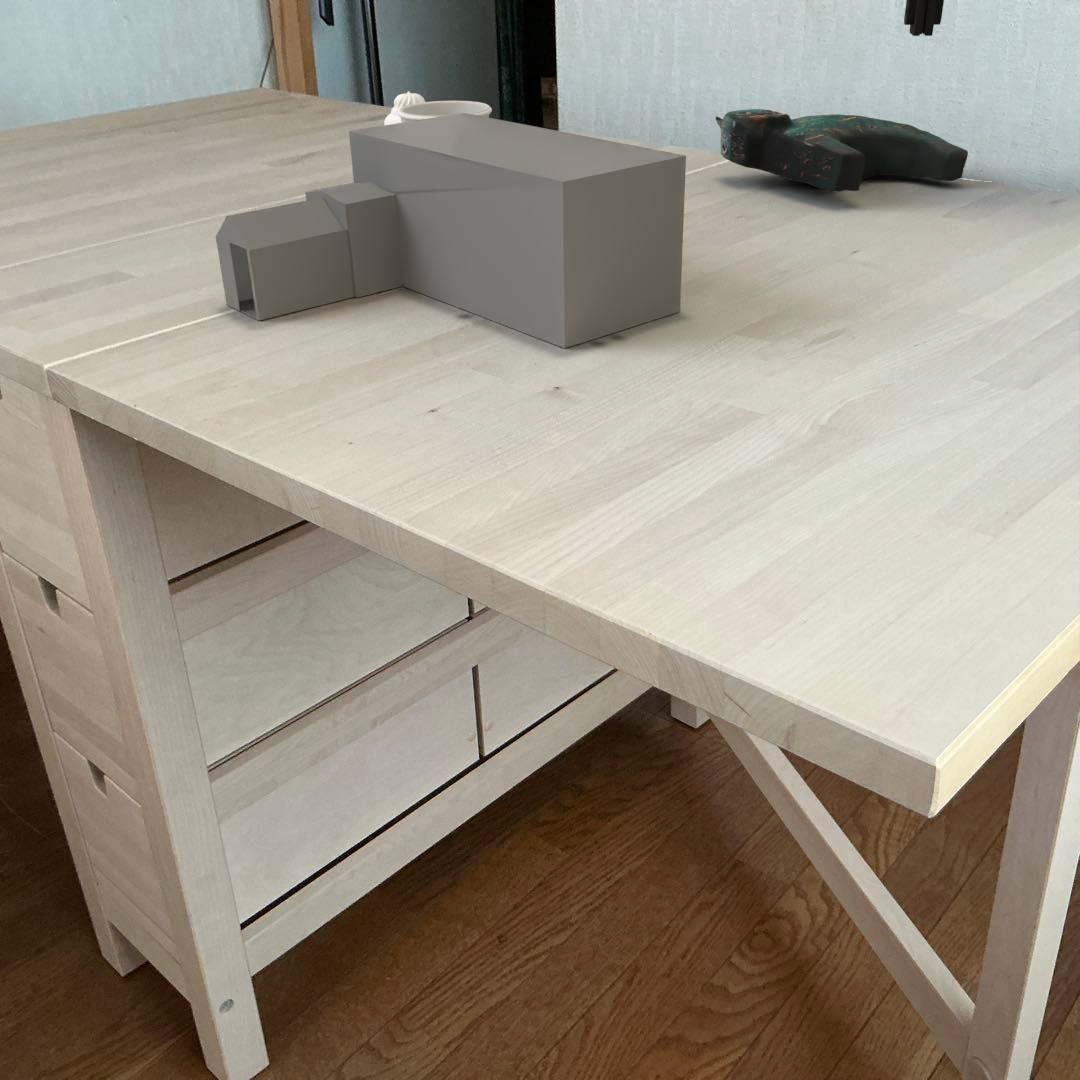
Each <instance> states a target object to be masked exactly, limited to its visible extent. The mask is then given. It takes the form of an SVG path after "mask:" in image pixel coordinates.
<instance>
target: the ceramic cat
mask: <svg viewBox="0 0 1080 1080" xmlns="http://www.w3.org/2000/svg"><path fill="white" fill-rule="evenodd" d="M715 121H716V123H717V125H718V126H719V128H720V155H721V156H722V157H723V158H724V159H725V160H728V161H729V162H731V163H733V164H736V165H738V166H741V167H744V168H748V169H754V170H758V171H759V170H760V171H762V172H766V173H769V174H772V175H774V176H777V177H780V178H784V179H786V180H790V181H793V182H798V183H803V184H808V185H811V186H813V187H816V188H817V189H820V190H821V189H822V190H825V191H828V192H833V193H839V192H843V191H844V192H845V191H847V192H848V191H850V192H859V191H860V186H861V183H862V180H865V179H867V178H869V177H876V176H901V177H902V176H903V177H913V178H926V179H932V180H935V181H940V182H942V181H945V182H946V181H947V182H953V181H957V180H960V179H962V178H963V174H964V169H965V166H966V163H967V160H968V156H969V151H968V150H967V149H965V148H962V147H960V146H957V145H955V144H953V143H951V142H948V141H947V140H945V139H944V138H941V137H940V136H938V135H935V134H933V133H931V132H929V131H927V130H923V129H920V128H918V127H916V126H913V125H911V124H907V123H900V122H896V121H892V120H886V119H880V118H874V117H869V116H863V115H856V114H839V113H838V114H837V113H835V114H833V113H832V114H831V113H830V114H817V115H806V116H801V117H796V118H791V116H790V115H789V114H788V113H782V112H778V111H776V110H771V109H765V108H761V109H760V108H752V109H751V108H750V109H739V110H731V111H728V112H726V113H725V114H724V116H723V118H721V117H719V116H715Z"/></svg>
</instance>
